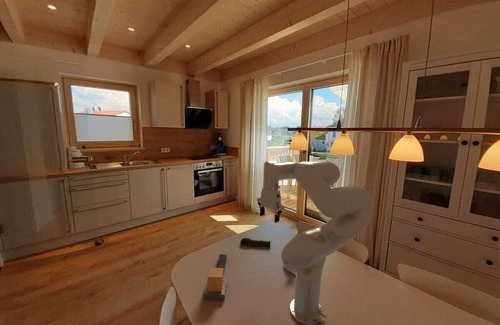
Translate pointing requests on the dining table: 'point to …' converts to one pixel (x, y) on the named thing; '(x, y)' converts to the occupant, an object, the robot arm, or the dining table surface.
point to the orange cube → (216, 279)
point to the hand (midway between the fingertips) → (269, 218)
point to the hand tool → (255, 243)
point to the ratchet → (221, 295)
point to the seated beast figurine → (290, 271)
